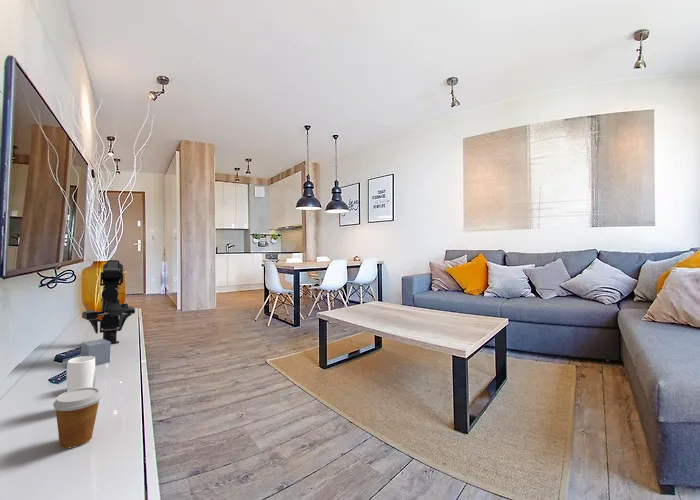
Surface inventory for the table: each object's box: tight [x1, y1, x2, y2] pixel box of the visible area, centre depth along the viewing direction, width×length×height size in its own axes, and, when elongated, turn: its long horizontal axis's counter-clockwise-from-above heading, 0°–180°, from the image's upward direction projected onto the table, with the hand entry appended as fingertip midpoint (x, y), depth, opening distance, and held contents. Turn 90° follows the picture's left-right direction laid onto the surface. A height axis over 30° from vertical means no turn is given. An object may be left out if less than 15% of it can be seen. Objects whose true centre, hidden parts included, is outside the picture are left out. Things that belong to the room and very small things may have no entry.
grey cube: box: [80, 338, 112, 367], centre depth 137 cm, size 8×8×9 cm
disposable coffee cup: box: [52, 387, 103, 449], centre depth 82 cm, size 10×10×12 cm
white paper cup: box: [66, 356, 96, 392], centre depth 98 cm, size 7×7×15 cm
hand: (108, 331), depth 145 cm, fingers open, 9 cm apart
